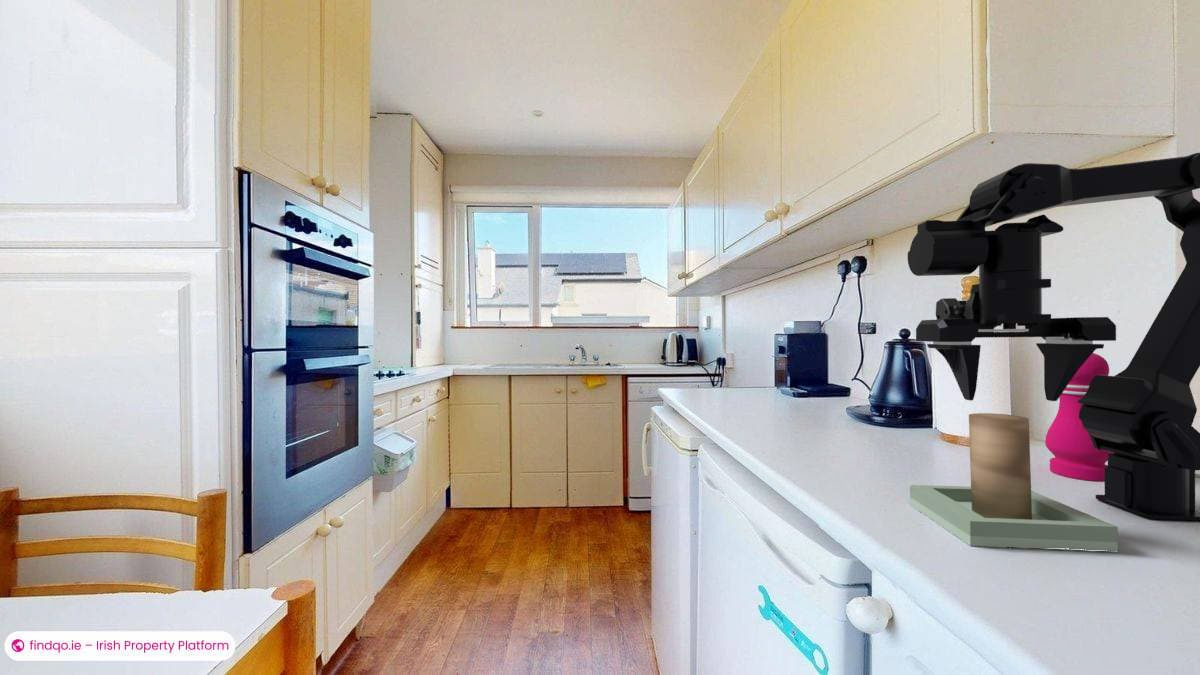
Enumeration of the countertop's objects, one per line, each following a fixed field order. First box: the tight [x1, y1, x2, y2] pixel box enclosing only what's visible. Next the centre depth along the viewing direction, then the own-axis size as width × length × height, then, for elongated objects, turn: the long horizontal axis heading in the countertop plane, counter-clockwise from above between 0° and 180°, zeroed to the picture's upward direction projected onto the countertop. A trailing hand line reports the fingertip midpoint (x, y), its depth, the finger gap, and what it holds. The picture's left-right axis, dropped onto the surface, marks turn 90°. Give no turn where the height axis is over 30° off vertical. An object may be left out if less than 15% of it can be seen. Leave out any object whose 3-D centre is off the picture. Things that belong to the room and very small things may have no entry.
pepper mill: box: [1044, 352, 1114, 482], centre depth 67 cm, size 7×7×20 cm
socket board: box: [909, 484, 1119, 551], centre depth 50 cm, size 13×11×2 cm
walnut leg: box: [968, 412, 1032, 520], centre depth 50 cm, size 5×5×11 cm
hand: (1009, 400), depth 56 cm, fingers open, 9 cm apart
